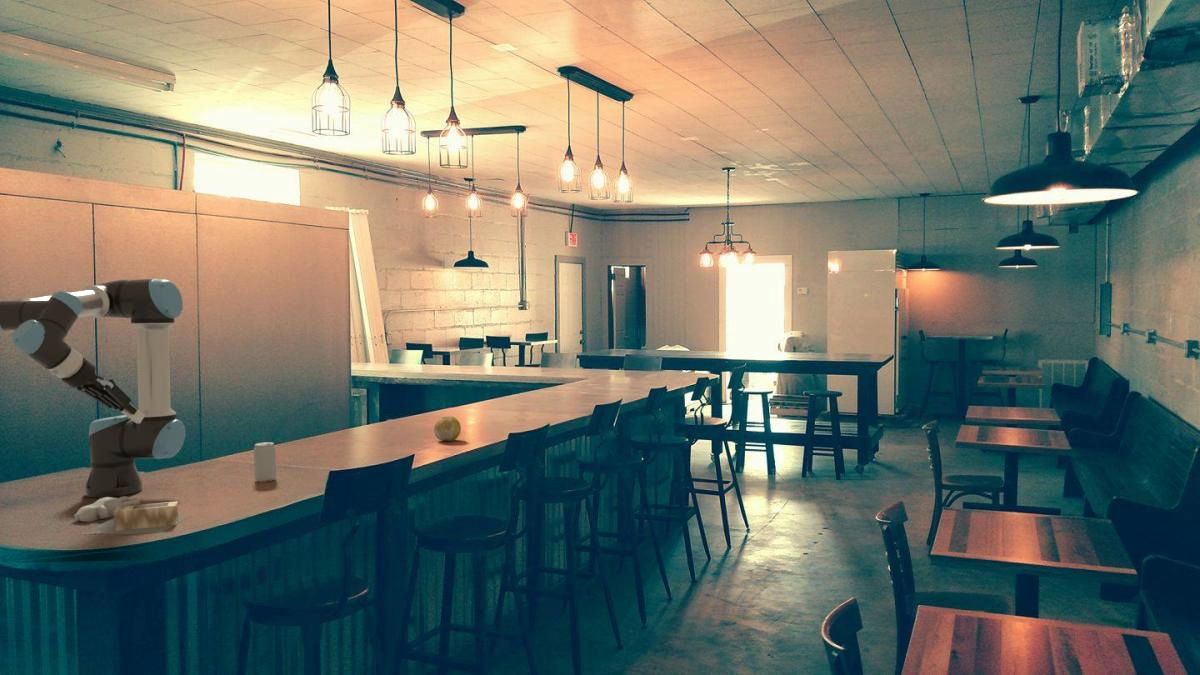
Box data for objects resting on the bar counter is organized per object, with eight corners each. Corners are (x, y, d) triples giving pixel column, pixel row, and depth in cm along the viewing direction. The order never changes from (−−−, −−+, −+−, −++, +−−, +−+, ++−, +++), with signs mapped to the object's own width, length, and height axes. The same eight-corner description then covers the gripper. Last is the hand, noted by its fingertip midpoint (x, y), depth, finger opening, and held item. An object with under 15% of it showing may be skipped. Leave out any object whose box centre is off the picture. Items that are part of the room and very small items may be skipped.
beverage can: (268, 483, 267) (267, 445, 267) (250, 482, 269) (249, 445, 268) (280, 478, 274) (279, 442, 273) (262, 477, 275) (261, 441, 274)
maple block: (114, 511, 213) (175, 505, 218) (117, 506, 218) (177, 501, 223) (114, 530, 213) (176, 524, 218) (118, 525, 218) (178, 519, 223)
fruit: (438, 438, 345) (438, 414, 344) (464, 439, 343) (463, 414, 343) (430, 443, 335) (429, 418, 334) (456, 443, 333) (456, 418, 333)
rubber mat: (79, 535, 211) (79, 534, 211) (112, 519, 226) (112, 518, 226) (160, 534, 211) (160, 532, 211) (188, 518, 226) (188, 516, 226)
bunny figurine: (66, 507, 224) (120, 488, 237) (70, 525, 225) (123, 506, 238) (88, 511, 219) (142, 492, 232) (91, 530, 220) (144, 509, 233)
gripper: (47, 380, 216) (117, 430, 232) (79, 378, 211) (149, 430, 227) (65, 357, 221) (133, 408, 237) (96, 355, 215) (164, 407, 231)
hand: (140, 419), depth 232 cm, fingers closed
